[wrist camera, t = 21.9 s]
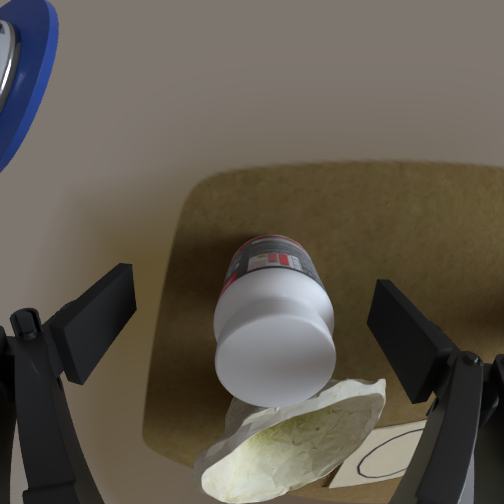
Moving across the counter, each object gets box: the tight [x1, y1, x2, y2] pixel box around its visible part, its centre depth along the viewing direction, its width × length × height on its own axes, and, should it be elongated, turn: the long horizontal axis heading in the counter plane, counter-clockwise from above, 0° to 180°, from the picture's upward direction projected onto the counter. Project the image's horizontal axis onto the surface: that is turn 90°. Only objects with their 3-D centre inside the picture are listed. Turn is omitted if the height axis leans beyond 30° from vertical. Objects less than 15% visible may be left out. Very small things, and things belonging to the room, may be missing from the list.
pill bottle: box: [214, 235, 336, 407], centre depth 15 cm, size 6×6×10 cm
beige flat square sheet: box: [328, 420, 427, 488], centre depth 26 cm, size 14×16×1 cm
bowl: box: [192, 378, 386, 504], centre depth 18 cm, size 15×14×10 cm
